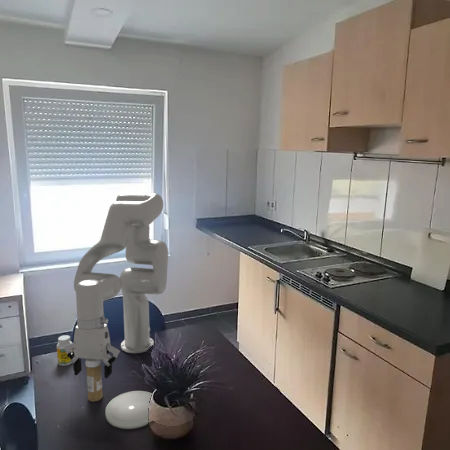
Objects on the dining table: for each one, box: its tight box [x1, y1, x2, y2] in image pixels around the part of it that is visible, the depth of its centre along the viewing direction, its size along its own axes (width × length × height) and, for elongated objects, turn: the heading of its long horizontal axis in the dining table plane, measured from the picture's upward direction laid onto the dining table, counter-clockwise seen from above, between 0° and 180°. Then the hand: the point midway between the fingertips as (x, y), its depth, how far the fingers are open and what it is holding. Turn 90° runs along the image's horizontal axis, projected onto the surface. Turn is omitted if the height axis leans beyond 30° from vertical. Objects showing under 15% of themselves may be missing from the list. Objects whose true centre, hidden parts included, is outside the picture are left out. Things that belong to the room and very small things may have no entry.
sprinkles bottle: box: [84, 358, 104, 403], centre depth 125 cm, size 5×5×13 cm
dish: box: [104, 390, 153, 430], centre depth 121 cm, size 16×16×1 cm
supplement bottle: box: [56, 334, 74, 367], centre depth 146 cm, size 5×5×10 cm
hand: (92, 374), depth 124 cm, fingers open, 9 cm apart
